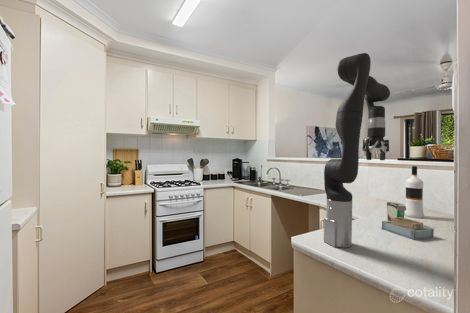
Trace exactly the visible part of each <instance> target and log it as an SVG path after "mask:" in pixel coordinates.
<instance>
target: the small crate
mask: <svg viewBox="0 0 470 313" xmlns="http://www.w3.org/2000/svg"><path fill="white" fill-rule="evenodd" d="M391 224H393V225H396V226H399V227H402V228H406V229H409V230H423V227H424V223H423V222H420V221H417V220H414V219H413V220H412V219H410V218H407V217H406V218H405V217H404V218H402V217H397V218H391Z"/></svg>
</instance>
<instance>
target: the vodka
mask: <svg viewBox="0 0 470 313" xmlns="http://www.w3.org/2000/svg"><path fill="white" fill-rule="evenodd" d="M423 190H424V181H423V180H422V179H420V178H419V177H418V166H416V165H413V166H411V177H408V178H407V179H406V180H405V198H404V199H405V204H404V205H405V207H406V210H405V214H404V216H406V217H409V218H414V219H415V218H416V219H423V218H424V216H425V213H424V205H423V204H424V200H423V199H424V198H423V197H424V191H423Z"/></svg>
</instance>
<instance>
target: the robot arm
mask: <svg viewBox="0 0 470 313" xmlns="http://www.w3.org/2000/svg"><path fill="white" fill-rule="evenodd" d="M371 64H372V62H371V56H370V54H369V53H367V52H362V53H359V54H353V55H351V56H347V57H346V56H345V57H343V58H342V59H340V60H339V61H338V63H337V69H336V70H337V75H338V77H339V79H340V80H341V81H343V82H345V83H347V84H348V85H351V86H352V87H351V90H350V91H349V93H348V94H347V96H346V97H345V98H344V99H343V101H342V102H341V103H340V105H339V106H338V108H337V111H336V118H335V130H336V132H337V135H338V137H339V139H340V141H341V145H342V147H341V148H342V150H341V152H342V153H341V158H331V159H329V160H328V161H326V163H325V165H324V169H323V170H324V171H323V180H324V181H323V182H324V192H325V195H326V205H325V206H326V207H325V208H326V212H325V214H326V215H325V216H326V217H323V242H325V243H326V244H328V245H330V246H332V247H333V248H344V249H345V248H346V249H347V248H351V247H352V243H353V234H352V232H353V193H351V192H350V191H349V190H347V189H346V188H345V186H344V184H352V183H354V182H355V181H356V179H357V178H358V173H359V159H360V158H359V154H360V153H359V149H360V140H361V138H360V136H361V130H362V129H361V128H362V123H363V116H364V115H363V114H364V105H365V103H366V105H367V106H366V108H367V111H368V112H367V115H368V117H367V118H368V119H367V138H363V139H362V151H363V152H365V158H366V161H371V160H372V158H373V157H372V156H373V154H372V151H373V150H374V149H377V150H378V151H379V152H380V153H379V160H380V161H385V160H386V153H388V152H390V140H389V139H384V138H385V136H386V108H385V106H382V105H375V104H374V103H378V102H384V101H386V100H388V99H389V97H390V94H391V90H390V88H389V87H388V86H387V85H385V84H383V83H380V82H378V81H377V79H376V78H374V77H373V76H371V75H370V72H371Z"/></svg>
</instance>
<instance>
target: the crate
mask: <svg viewBox="0 0 470 313" xmlns="http://www.w3.org/2000/svg"><path fill="white" fill-rule="evenodd" d="M381 229H382V230H383V231H387V232H390V233H391V234H392V233H393V234H396V235H398V236H401V237H404V238H407V239H411V240H413V241H414V240H415V241H416V240H417V241H418V240H424V239H433V238H434V232H435V230H434V228H432V227H427V226H426V227H425V226H423V230H409V229H406V228H402V227H399V226H396V225H393V224H391V221H388V220H382V221H381Z"/></svg>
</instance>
